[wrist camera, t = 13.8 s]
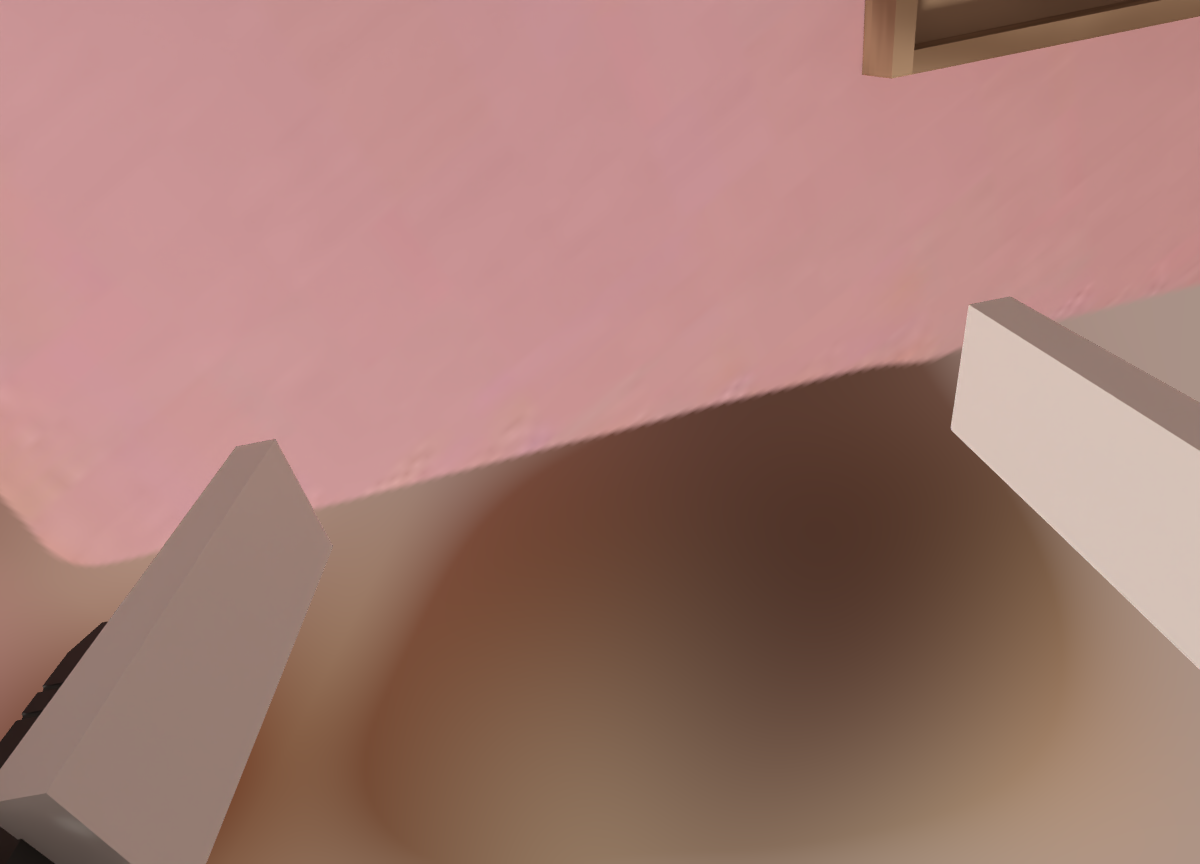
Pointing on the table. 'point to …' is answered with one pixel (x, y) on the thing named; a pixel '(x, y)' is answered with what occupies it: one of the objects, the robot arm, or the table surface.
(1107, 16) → the tray
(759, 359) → the table surface
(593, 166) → the table surface
